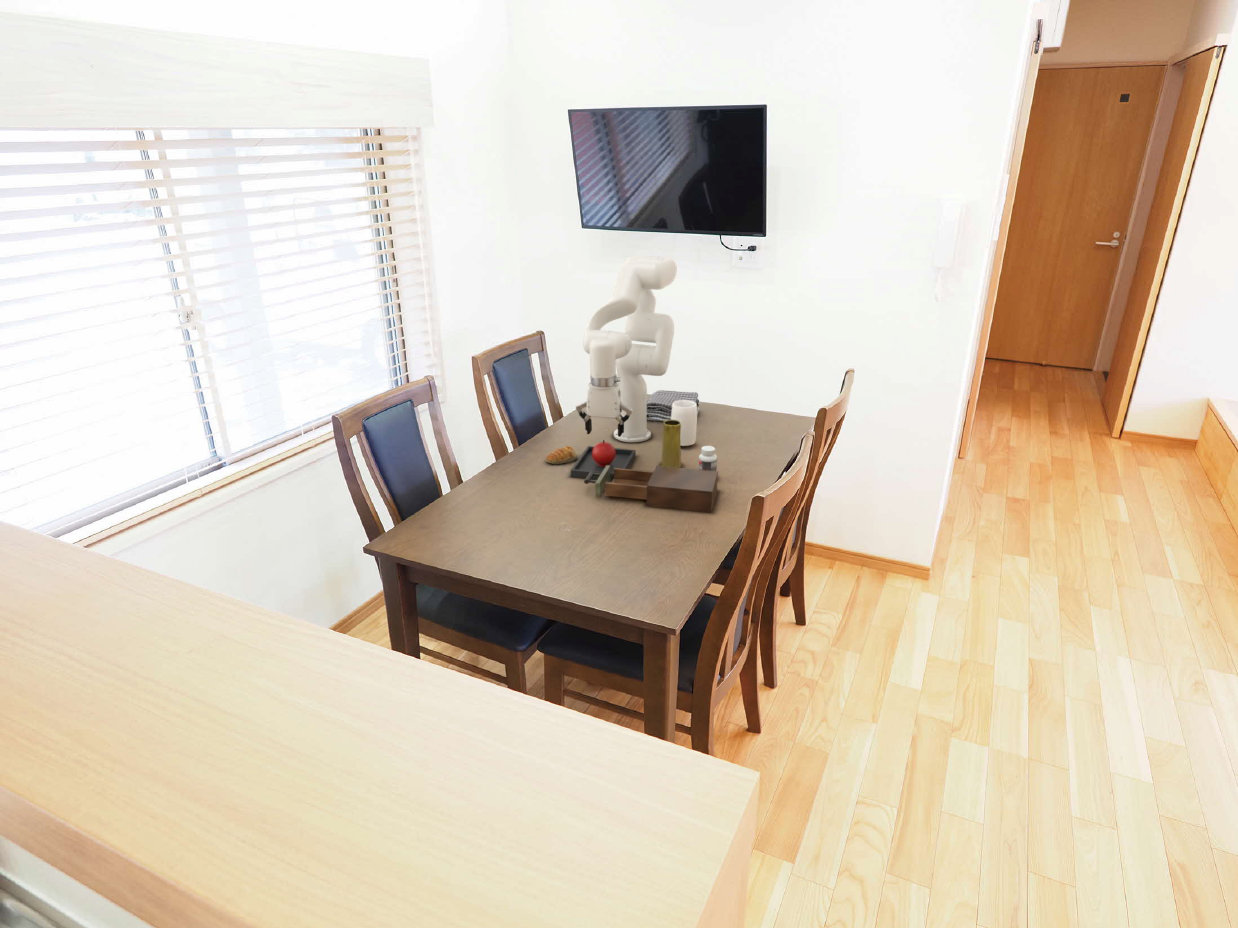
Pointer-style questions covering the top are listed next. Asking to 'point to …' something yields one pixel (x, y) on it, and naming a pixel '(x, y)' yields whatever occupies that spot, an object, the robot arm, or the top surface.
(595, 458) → the apple
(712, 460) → the pill bottle
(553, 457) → the pastry
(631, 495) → the drawer
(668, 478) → the cabinet
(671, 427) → the vase
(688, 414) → the cup
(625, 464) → the tray
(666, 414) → the towel
